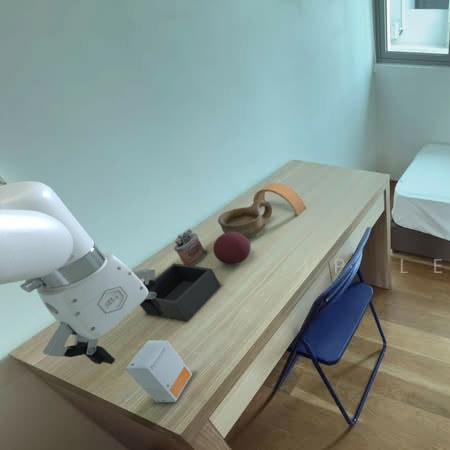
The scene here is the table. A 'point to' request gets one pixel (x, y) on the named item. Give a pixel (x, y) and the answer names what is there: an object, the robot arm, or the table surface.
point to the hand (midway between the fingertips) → (133, 335)
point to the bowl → (246, 219)
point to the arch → (283, 192)
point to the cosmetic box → (159, 371)
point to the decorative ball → (232, 248)
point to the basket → (184, 290)
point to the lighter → (189, 248)
